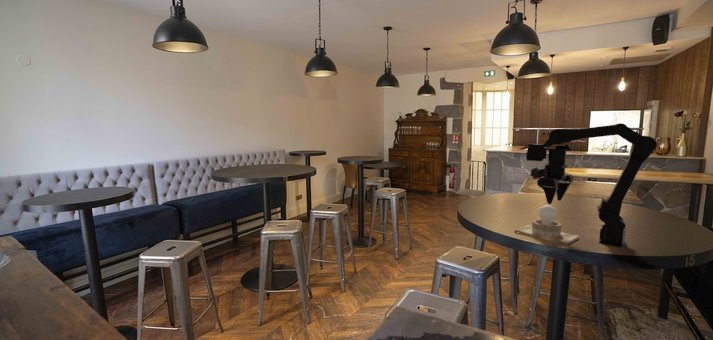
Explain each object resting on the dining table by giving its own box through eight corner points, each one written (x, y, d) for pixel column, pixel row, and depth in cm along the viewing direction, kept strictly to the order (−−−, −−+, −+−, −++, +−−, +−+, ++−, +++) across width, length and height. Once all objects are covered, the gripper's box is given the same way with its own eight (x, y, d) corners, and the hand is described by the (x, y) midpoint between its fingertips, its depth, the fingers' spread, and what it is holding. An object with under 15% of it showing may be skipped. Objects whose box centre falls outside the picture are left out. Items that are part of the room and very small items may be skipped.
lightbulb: (547, 236, 128) (549, 207, 126) (533, 231, 133) (535, 204, 132) (558, 234, 130) (560, 205, 128) (544, 229, 135) (546, 202, 134)
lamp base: (578, 238, 128) (579, 225, 127) (567, 244, 121) (568, 231, 120) (527, 227, 142) (528, 215, 142) (514, 232, 136) (515, 220, 135)
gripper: (544, 159, 141) (542, 195, 143) (523, 162, 130) (522, 202, 132) (574, 160, 133) (572, 199, 135) (555, 164, 121) (553, 207, 123)
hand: (554, 202), depth 131 cm, fingers open, 9 cm apart
